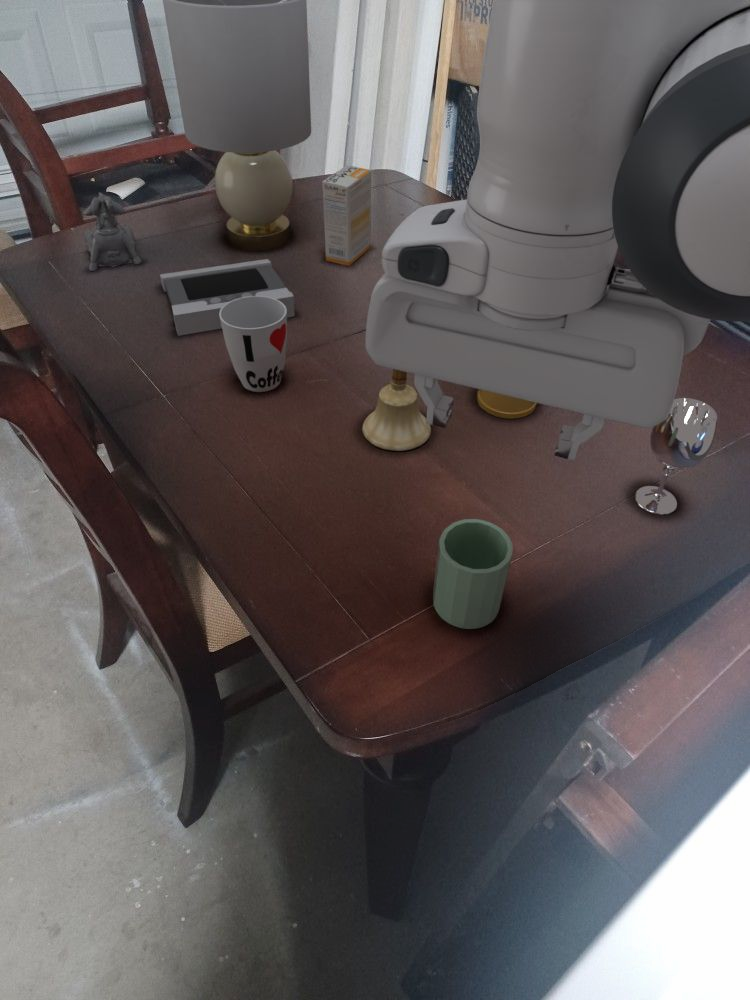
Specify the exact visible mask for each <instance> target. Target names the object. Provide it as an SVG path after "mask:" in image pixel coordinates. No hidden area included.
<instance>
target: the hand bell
mask: <svg viewBox="0 0 750 1000" xmlns="http://www.w3.org/2000/svg"><path fill="white" fill-rule="evenodd" d="M407 381H408V372H404V371H400V370H396V369H392V375H391V383H389V384H386V385H385V386H383V387H381V389H380V390H379V394H378V399H377V404H376V406H375V409H374V411H372V412H371V413H369V414H368V416H367V417H366V418H365V420H364V421H363V423H362V429H361V430H362V434H363V436H364V438H365V439H366V440H367V441H368V442H369V443H370V444H372V445H373V446H375V447H377V448H380V449H383V450H387V451H395V452H403V451H404V452H405V451H410V450H413V449H417V448H418V447H420V446H422V445H424V444H425V443H426V442H427V441H428V440H429V439H430V436H431V434H432V428H431V427H432V426H431V424H427V423H426V418H427V417H425V416H424V415H423V414H422V413H421V412H420V408H419V402H418V401H419V399H418V393H417V390H416V388H414V387H412V386H411V385H409V384H407Z"/></svg>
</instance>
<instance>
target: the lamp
mask: <svg viewBox="0 0 750 1000" xmlns="http://www.w3.org/2000/svg"><path fill="white" fill-rule="evenodd" d="M162 4H163V5H162V6H163V12H164V15H165V16H164V17H165V23H166V28H167V34H168V41H169V46H170V52H171V59H172V64H173V70H174V77H175V82H176V83H175V84H176V88H177V94H178V95H177V96H178V101H179V106H180V107H179V108H180V112H181V113H180V114H181V118H182V124H183V131H184V137H185V139H186V140H187V141H188V142H189V143H191V144H193V145H194V146H197V147H198V148H202V149H205V150H210V151H215V152H222V153H223V155H222V156H221V158H220V159H219V160H218V163H217V165H216V168H215V173H214V189H215V194H216V197H217V200H218V202H219V204H220V206H221V207H222V209H223V211H225V213H226V214H227V215H229V217H230V218H229V219H228V220H227V222H226V233H227V239H228V242H229V244H230V245H231V246H233V247H234V248H237V249H239V250H243V251H248V252H265V251H271V250H276V249H280V248H282V247H284V246H285V245H287V244H288V243H289V241H290V240H291V227H290V226H291V225H290V220H289V218H288V217H287V216H285V215H284V214H285V213H286V212H287V210H288V208H289V206H290V203H291V201H292V198H293V193H294V182H293V176H292V173H291V170H290V167H289V165H288V163H287V161H286V160H285V159H284V157H283V156H282V155H281V154H280V153H279V152H278V151H279V150H285V149H288V148H291V147H294V146H297V145H299V144H301V143H303V142H305V141H306V140H308V139H309V137H310V136H311V135H312V113H311V110H312V109H311V88H310V85H311V84H310V64H309V63H310V59H309V35H308V33H309V32H308V8H307V7H308V6H307V5H308V4H307V0H162Z"/></svg>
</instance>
